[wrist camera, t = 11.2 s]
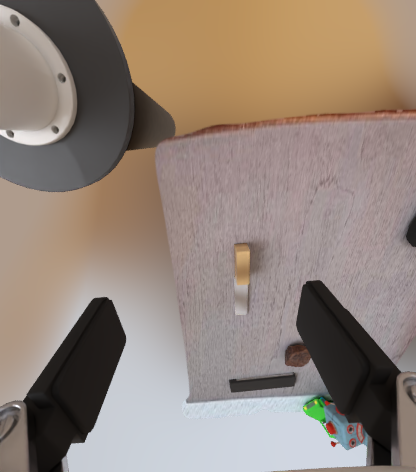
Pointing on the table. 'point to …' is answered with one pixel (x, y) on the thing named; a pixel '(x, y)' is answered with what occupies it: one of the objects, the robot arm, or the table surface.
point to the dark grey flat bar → (262, 382)
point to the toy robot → (343, 428)
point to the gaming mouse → (412, 233)
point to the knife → (241, 277)
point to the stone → (297, 356)
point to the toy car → (317, 411)
